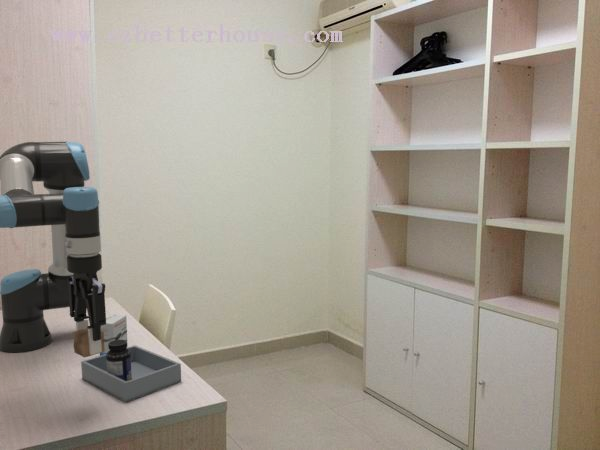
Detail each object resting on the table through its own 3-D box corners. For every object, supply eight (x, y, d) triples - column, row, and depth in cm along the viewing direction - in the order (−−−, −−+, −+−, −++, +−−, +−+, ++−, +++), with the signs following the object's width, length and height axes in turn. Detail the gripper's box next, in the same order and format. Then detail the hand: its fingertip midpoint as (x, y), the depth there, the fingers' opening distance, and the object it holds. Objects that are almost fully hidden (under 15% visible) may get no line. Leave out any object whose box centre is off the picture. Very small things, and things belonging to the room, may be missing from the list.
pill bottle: (123, 375, 153) (121, 336, 152) (136, 381, 149) (134, 341, 148) (103, 383, 149) (100, 343, 147) (116, 389, 145) (113, 348, 143)
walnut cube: (74, 352, 134) (73, 332, 133) (93, 346, 138) (92, 326, 137) (84, 357, 131) (83, 336, 130) (104, 351, 134) (103, 331, 134)
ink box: (114, 362, 165) (112, 323, 163) (99, 361, 166) (97, 322, 164) (129, 351, 173) (127, 314, 171) (114, 350, 174) (112, 313, 172)
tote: (82, 379, 153) (81, 361, 152) (135, 361, 165) (135, 345, 164) (126, 402, 138) (125, 383, 138) (181, 381, 151) (180, 363, 150)
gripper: (50, 251, 134) (56, 345, 137) (88, 261, 122) (94, 364, 125) (80, 247, 139) (85, 337, 143) (119, 256, 128) (124, 354, 131)
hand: (89, 349), depth 134 cm, fingers closed on walnut cube, 5 cm apart
